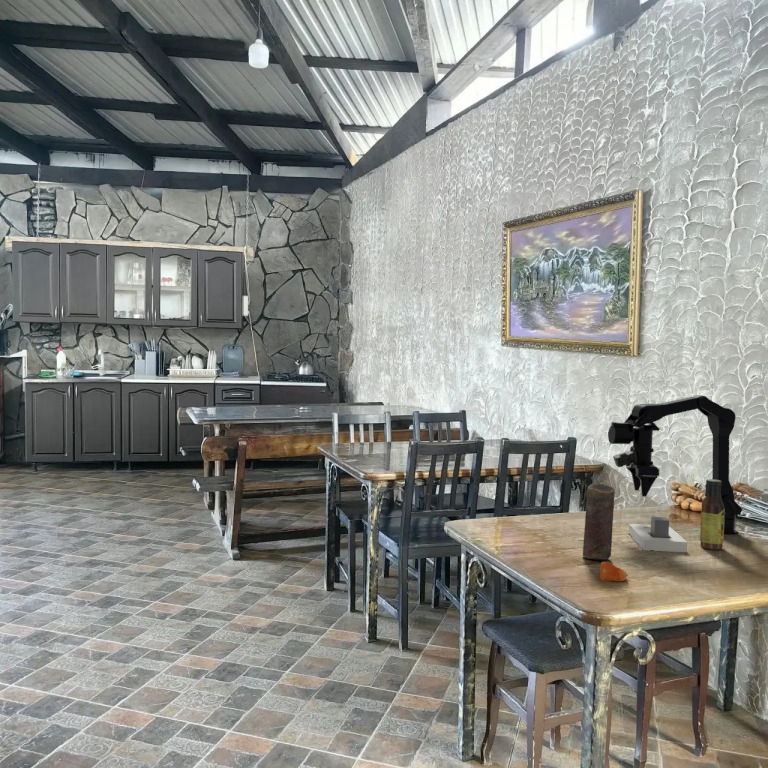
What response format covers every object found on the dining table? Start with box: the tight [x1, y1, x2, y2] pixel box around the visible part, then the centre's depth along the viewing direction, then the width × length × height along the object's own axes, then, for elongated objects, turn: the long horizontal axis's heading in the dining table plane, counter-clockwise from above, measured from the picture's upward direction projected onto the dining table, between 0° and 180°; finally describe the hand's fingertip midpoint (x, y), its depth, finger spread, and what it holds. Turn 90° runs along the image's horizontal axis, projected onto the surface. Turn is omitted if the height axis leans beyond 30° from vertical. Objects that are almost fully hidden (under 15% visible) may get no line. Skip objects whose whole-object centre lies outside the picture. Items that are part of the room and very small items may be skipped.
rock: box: [599, 561, 629, 582], centre depth 176 cm, size 12×12×4 cm
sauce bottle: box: [699, 478, 725, 551], centre depth 205 cm, size 7×6×20 cm
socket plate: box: [627, 523, 688, 553], centre depth 209 cm, size 18×12×3 cm, turn 174°
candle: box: [582, 483, 616, 562], centre depth 191 cm, size 8×7×20 cm
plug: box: [650, 516, 670, 538], centre depth 206 cm, size 4×4×8 cm
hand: (640, 493), depth 222 cm, fingers open, 9 cm apart
